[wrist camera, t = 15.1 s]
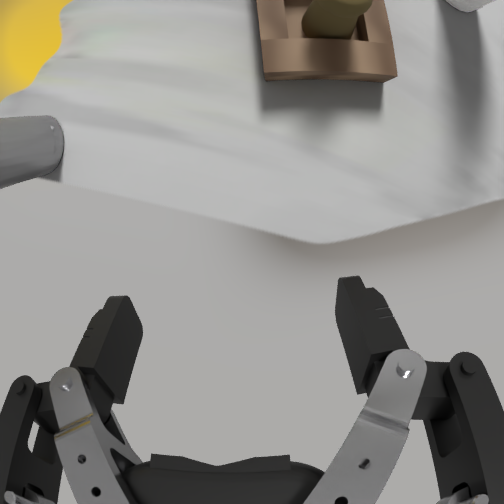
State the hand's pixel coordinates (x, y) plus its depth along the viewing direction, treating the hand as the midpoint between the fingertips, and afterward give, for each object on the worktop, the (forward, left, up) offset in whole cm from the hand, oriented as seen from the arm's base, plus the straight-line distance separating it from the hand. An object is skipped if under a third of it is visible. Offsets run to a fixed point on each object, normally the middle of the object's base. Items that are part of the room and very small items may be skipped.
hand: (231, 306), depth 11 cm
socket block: (+8, +21, -25) cm, 34 cm away
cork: (+9, +20, -24) cm, 32 cm away
